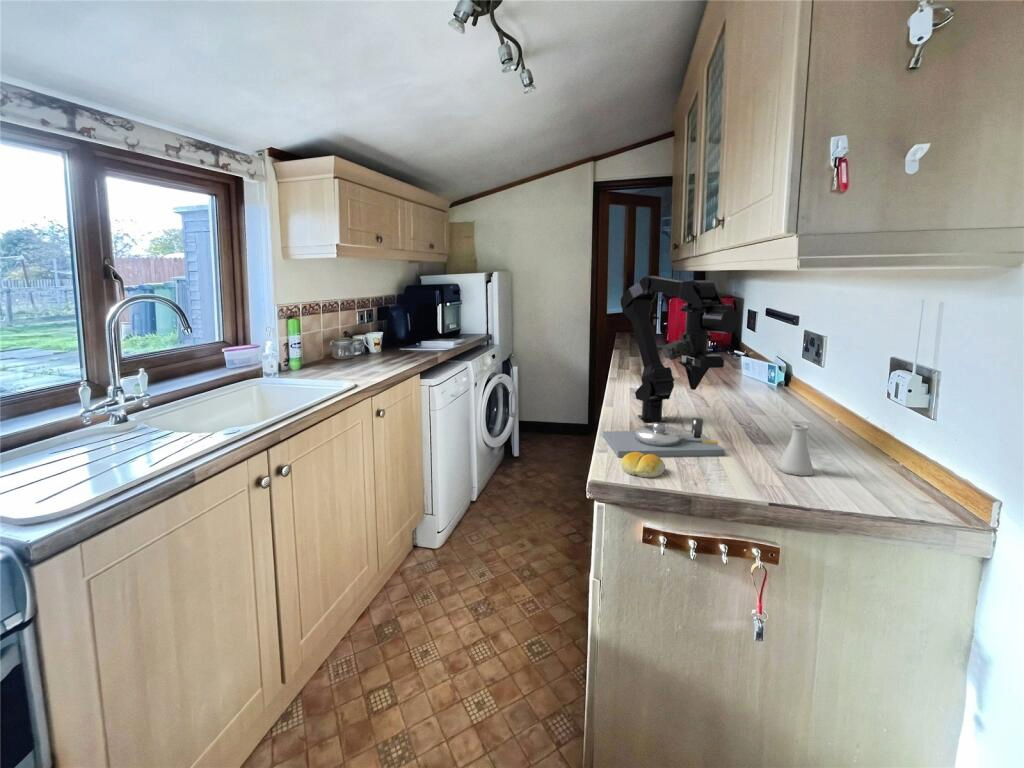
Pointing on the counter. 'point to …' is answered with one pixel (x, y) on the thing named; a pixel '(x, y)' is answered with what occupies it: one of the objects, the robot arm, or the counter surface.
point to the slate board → (688, 447)
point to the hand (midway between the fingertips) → (693, 389)
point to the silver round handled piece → (667, 433)
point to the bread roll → (642, 464)
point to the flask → (797, 454)
